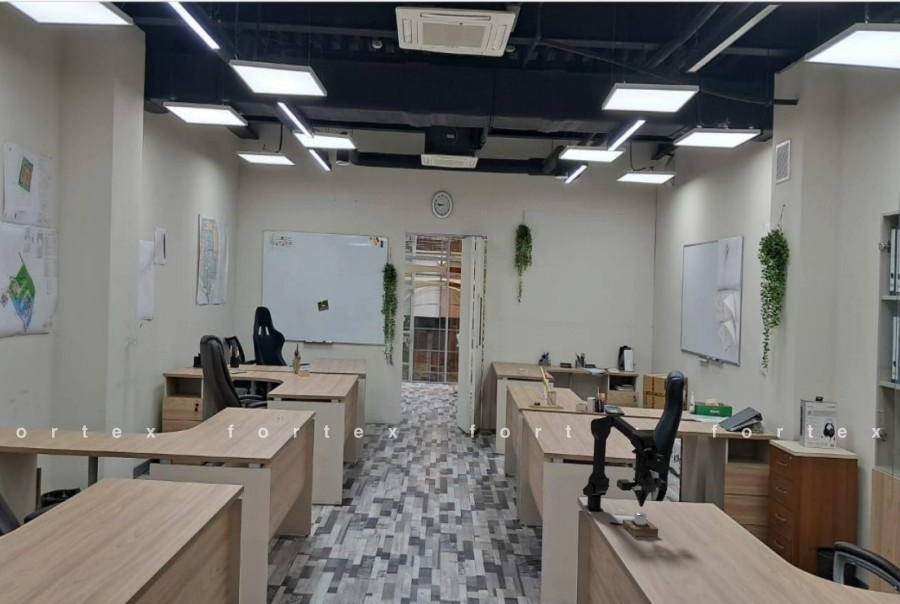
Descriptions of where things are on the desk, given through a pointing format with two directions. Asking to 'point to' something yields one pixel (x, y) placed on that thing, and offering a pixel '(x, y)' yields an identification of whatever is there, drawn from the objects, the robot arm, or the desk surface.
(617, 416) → the robot arm
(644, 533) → the frame
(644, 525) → the metal cylinder
